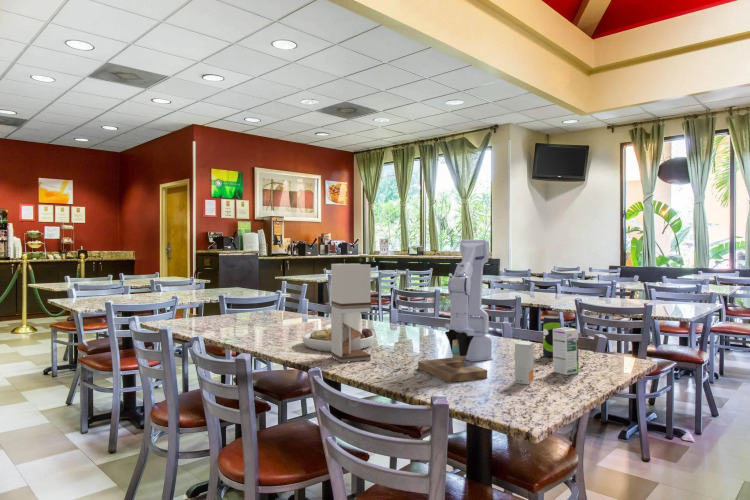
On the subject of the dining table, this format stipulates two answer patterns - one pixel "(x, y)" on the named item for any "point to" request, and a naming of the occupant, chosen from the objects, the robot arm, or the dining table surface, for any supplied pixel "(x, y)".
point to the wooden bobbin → (456, 351)
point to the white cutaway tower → (349, 309)
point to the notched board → (452, 370)
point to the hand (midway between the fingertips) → (459, 354)
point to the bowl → (323, 339)
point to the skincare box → (524, 362)
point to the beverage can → (549, 334)
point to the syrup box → (565, 351)
